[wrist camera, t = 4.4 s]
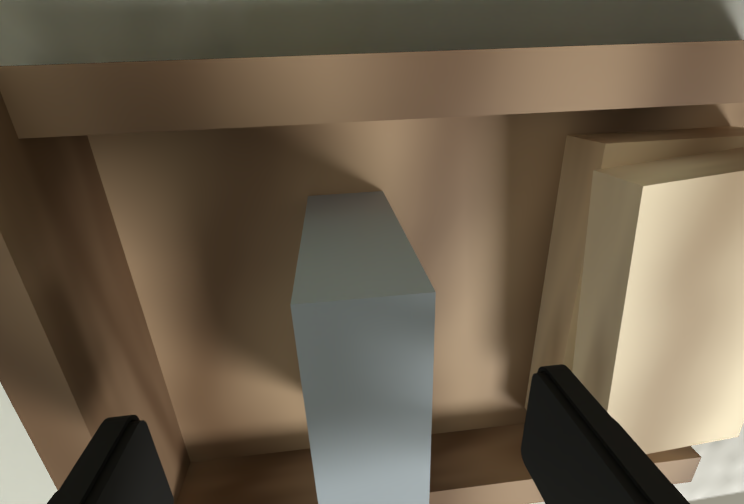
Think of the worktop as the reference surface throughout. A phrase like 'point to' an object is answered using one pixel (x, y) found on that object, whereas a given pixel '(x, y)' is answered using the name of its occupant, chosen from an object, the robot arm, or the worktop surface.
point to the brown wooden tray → (299, 240)
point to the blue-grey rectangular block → (364, 352)
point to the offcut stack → (651, 281)
